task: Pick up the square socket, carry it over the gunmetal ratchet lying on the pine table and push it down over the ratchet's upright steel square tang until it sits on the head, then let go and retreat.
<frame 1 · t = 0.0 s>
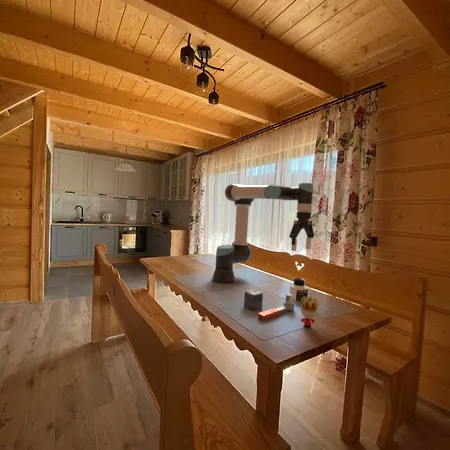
hand: (301, 249, 143), 28 cm above the table, fingers open, 13 cm apart
socket: (252, 307, 130), on the table
medicine bottle: (298, 300, 145), on the table
toy: (307, 327, 112), on the table
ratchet: (288, 310, 129), on the table
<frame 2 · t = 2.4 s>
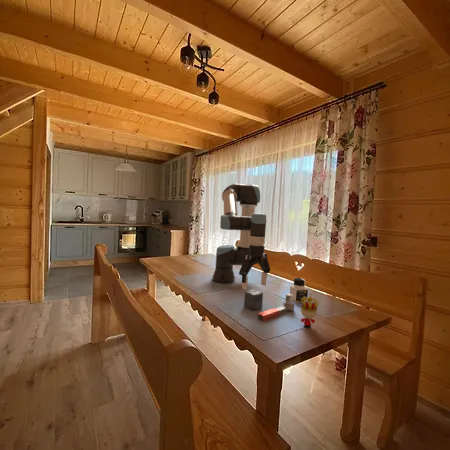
hand: (254, 287, 129), 11 cm above the table, fingers open, 13 cm apart
nothing on the table moved.
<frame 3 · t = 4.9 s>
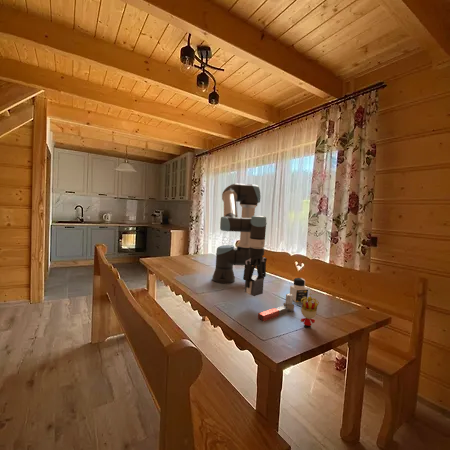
hand: (253, 292, 130), 8 cm above the table, fingers closed on socket, 6 cm apart
socket: (253, 292, 130), point 7 cm above the table, touching gripper
everything else where it was.
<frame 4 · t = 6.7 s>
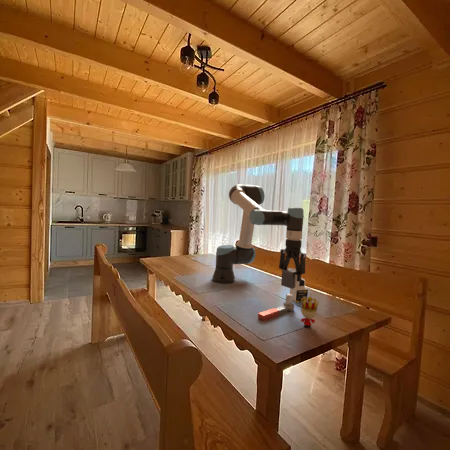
hand: (290, 285, 128), 13 cm above the table, fingers closed on socket, 6 cm apart
socket: (290, 285, 128), point 12 cm above the table, touching gripper
everything else where it was.
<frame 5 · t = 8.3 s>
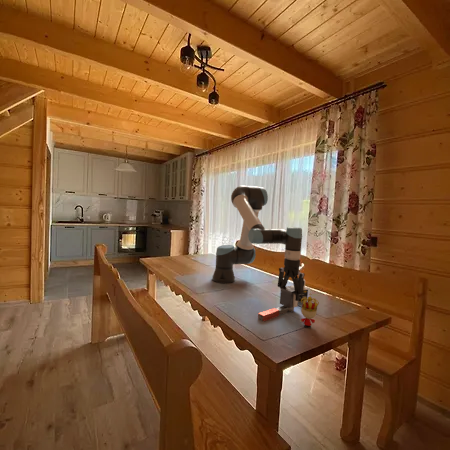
hand: (289, 304, 129), 3 cm above the table, fingers closed on socket, 6 cm apart
socket: (288, 304, 129), point 3 cm above the table, touching gripper
everything else where it was.
when the fingers open (3 cm above the table, at t = 8.8 s): socket stays where it is, resting on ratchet.
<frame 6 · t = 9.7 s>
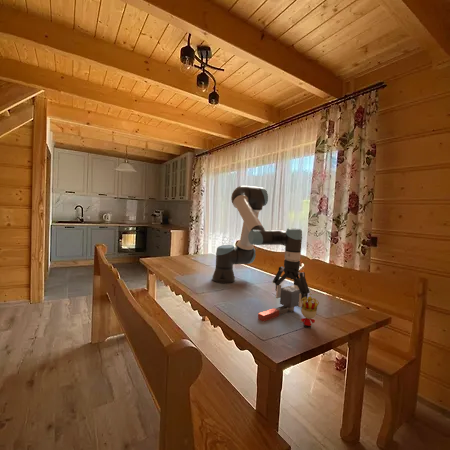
hand: (289, 301, 129), 4 cm above the table, fingers open, 13 cm apart
socket: (289, 304, 129), point 3 cm above the table, touching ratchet
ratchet: (288, 310, 129), on the table, touching socket
everything else where it was.
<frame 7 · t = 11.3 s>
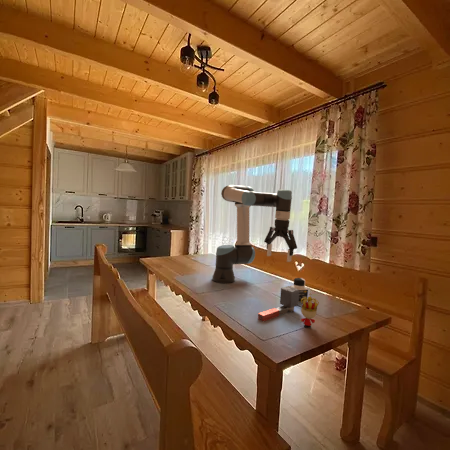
hand: (278, 258, 139), 23 cm above the table, fingers open, 13 cm apart
nothing on the table moved.
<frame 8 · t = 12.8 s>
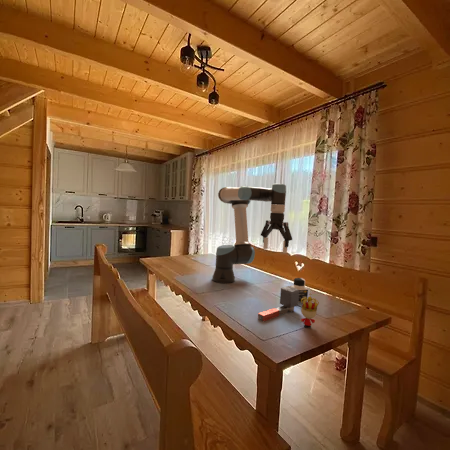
hand: (274, 250, 143), 27 cm above the table, fingers open, 13 cm apart
nothing on the table moved.
at the end: socket 0.1 cm off-centre on the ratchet, point 3.0 cm above the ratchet's base; socket tilted 0°; the gripper is holding nothing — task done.
